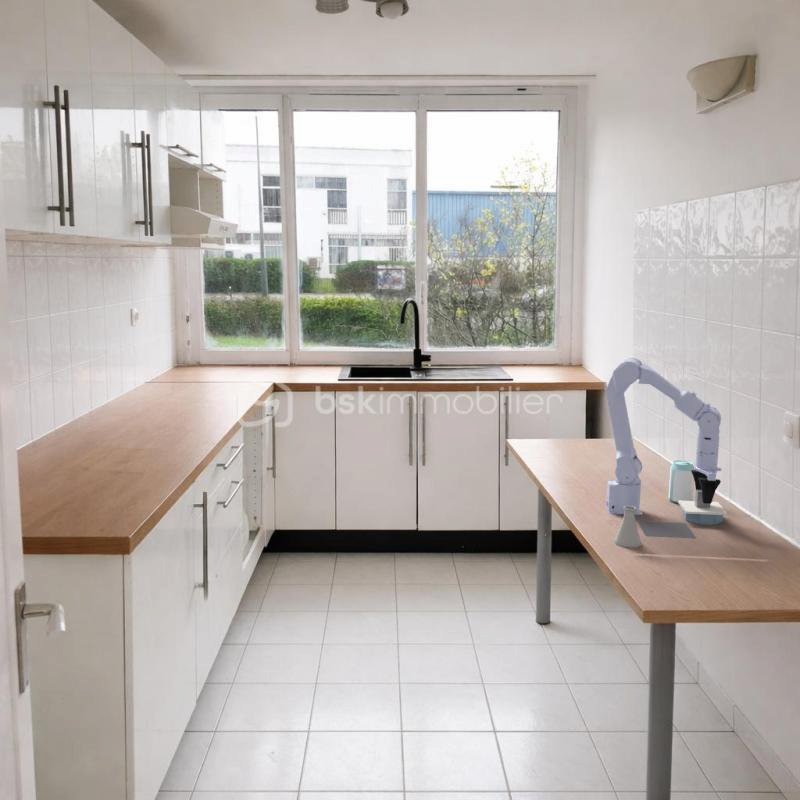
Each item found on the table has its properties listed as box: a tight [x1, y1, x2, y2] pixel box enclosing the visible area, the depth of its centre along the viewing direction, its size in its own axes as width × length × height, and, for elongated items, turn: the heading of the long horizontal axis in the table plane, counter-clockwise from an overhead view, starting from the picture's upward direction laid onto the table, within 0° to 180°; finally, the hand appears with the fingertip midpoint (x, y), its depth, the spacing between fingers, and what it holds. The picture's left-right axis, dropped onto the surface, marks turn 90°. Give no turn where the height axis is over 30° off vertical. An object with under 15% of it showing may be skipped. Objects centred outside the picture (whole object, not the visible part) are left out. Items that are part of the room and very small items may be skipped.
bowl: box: [682, 509, 724, 526], centre depth 250 cm, size 10×10×4 cm
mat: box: [637, 520, 697, 539], centre depth 240 cm, size 13×13×1 cm
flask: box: [613, 506, 643, 548], centre depth 228 cm, size 7×7×10 cm
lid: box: [677, 489, 729, 516], centre depth 249 cm, size 11×11×5 cm
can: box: [668, 459, 695, 504], centre depth 269 cm, size 7×7×12 cm
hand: (703, 499), depth 249 cm, fingers open, 7 cm apart
